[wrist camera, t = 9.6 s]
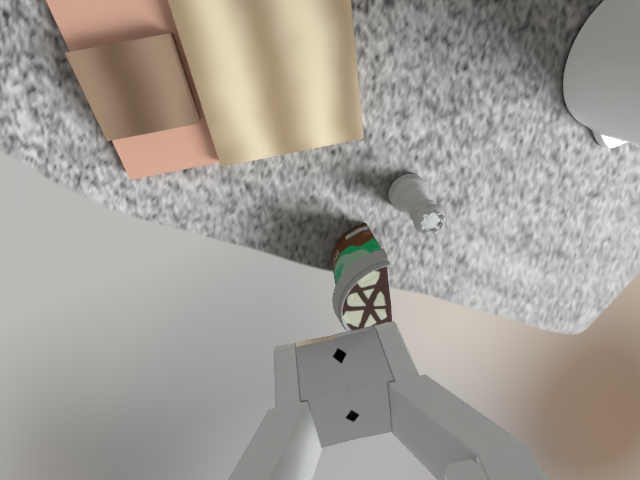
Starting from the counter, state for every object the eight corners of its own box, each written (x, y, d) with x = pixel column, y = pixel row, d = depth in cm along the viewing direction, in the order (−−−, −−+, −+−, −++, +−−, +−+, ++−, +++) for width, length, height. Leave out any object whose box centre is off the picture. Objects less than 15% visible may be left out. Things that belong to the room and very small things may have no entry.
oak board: (336, -68, 29) (343, -76, 27) (356, 130, 38) (363, 138, 35) (164, -36, 29) (154, -42, 26) (223, 156, 37) (221, 166, 35)
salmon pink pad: (161, -36, 29) (156, -39, 28) (222, 157, 37) (220, 161, 36) (47, -15, 29) (37, -17, 27) (134, 174, 37) (130, 179, 36)
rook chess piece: (384, 177, 41) (408, 209, 34) (423, 167, 41) (454, 197, 34) (389, 211, 43) (412, 247, 37) (425, 202, 43) (455, 236, 37)
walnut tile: (172, 32, 30) (167, 33, 28) (200, 118, 34) (197, 123, 32) (75, 50, 30) (64, 52, 28) (115, 135, 33) (107, 141, 32)
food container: (314, 223, 43) (326, 274, 34) (364, 212, 43) (389, 259, 35) (330, 300, 49) (344, 359, 41) (374, 290, 50) (397, 347, 41)
